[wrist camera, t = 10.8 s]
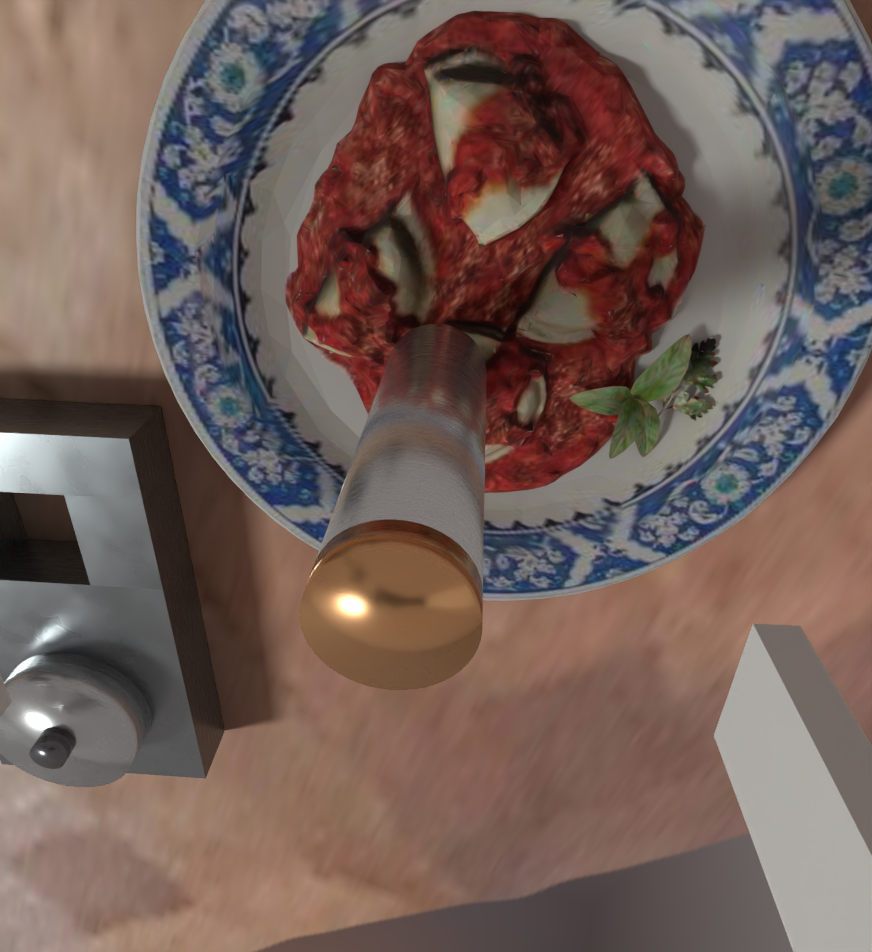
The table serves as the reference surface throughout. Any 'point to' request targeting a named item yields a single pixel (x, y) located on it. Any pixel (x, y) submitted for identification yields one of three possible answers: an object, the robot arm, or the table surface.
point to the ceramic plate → (519, 252)
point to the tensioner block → (100, 602)
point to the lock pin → (408, 524)
